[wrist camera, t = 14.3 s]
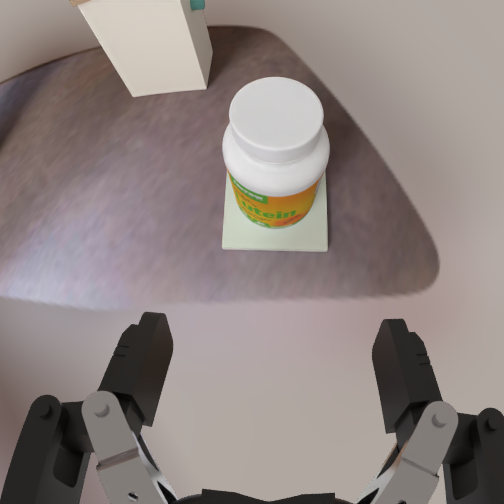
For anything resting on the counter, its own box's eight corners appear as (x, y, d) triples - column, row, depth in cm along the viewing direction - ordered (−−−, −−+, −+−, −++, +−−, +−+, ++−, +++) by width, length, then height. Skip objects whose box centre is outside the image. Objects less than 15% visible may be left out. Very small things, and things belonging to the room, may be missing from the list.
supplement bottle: (227, 222, 22) (195, 153, 12) (245, 153, 22) (230, 59, 13) (306, 239, 21) (333, 178, 11) (319, 167, 22) (344, 77, 12)
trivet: (223, 249, 22) (222, 247, 21) (230, 146, 23) (229, 142, 23) (326, 252, 21) (327, 250, 21) (322, 148, 23) (323, 144, 22)
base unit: (129, 99, 25) (67, -1, 13) (142, 59, 26) (95, -35, 14) (215, 90, 25) (182, -33, 12) (221, 50, 26) (197, -61, 13)
